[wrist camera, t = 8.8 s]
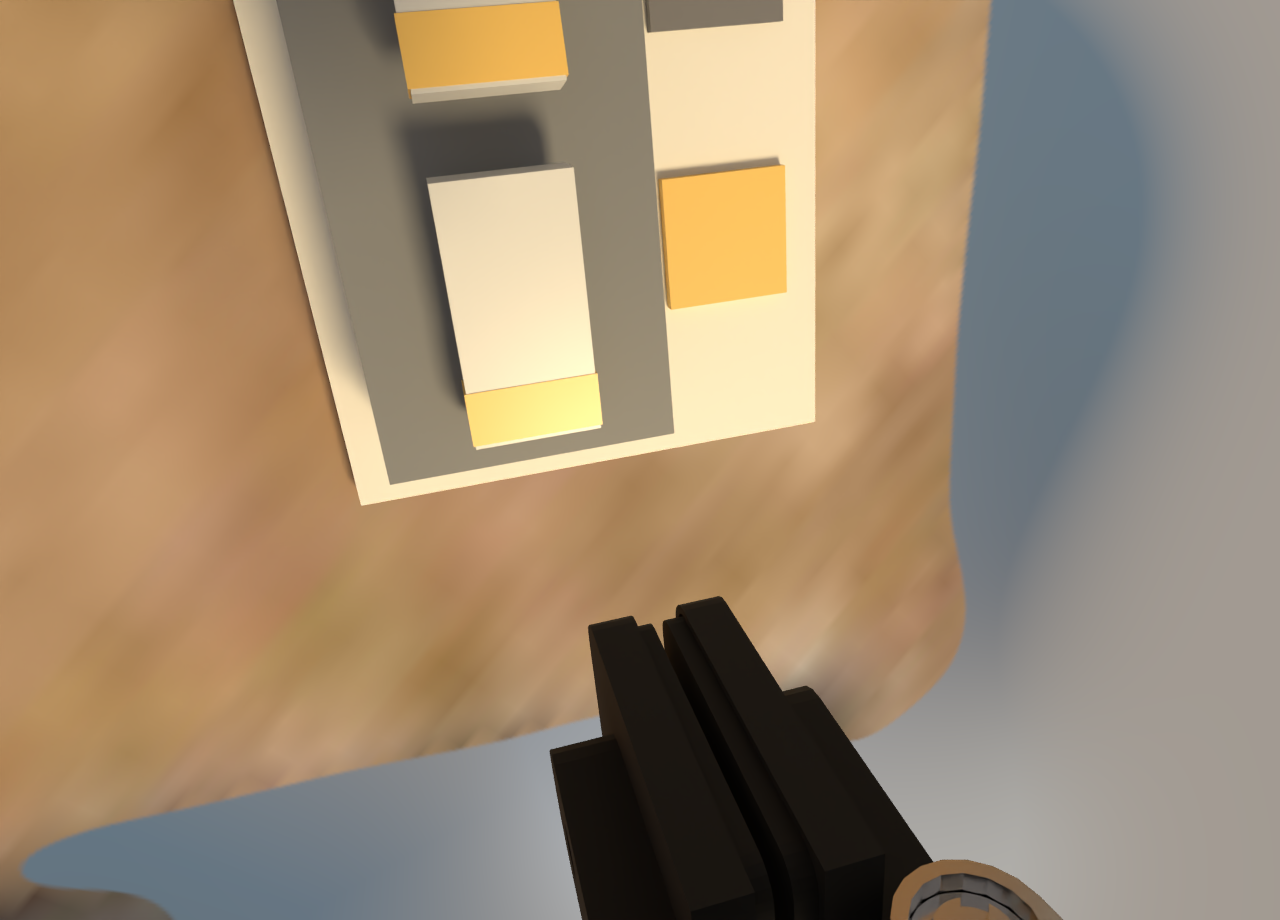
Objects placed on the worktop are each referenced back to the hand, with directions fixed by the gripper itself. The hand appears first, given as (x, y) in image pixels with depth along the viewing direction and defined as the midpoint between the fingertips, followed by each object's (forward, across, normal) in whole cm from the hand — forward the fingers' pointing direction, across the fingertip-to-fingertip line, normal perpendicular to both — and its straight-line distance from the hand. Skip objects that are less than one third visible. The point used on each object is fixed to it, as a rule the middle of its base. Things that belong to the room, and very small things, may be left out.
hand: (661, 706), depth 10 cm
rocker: (+12, 0, -2) cm, 12 cm away
